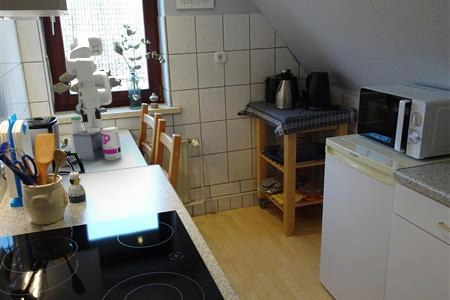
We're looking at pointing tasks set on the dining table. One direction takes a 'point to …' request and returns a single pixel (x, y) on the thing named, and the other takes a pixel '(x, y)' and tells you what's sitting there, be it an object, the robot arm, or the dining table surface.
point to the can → (93, 129)
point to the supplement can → (111, 143)
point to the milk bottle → (76, 128)
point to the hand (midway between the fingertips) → (92, 120)
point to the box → (88, 145)
